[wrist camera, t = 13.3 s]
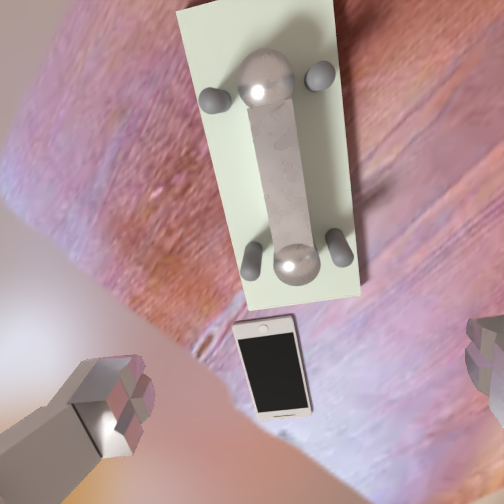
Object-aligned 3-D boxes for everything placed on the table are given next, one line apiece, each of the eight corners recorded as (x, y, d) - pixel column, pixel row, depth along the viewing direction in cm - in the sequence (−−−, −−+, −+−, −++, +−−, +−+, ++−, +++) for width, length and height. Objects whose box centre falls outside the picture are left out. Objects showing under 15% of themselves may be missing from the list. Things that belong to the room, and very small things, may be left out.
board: (327, -24, 27) (341, -60, 21) (358, 288, 37) (373, 323, 31) (180, 16, 29) (154, -7, 23) (249, 303, 39) (244, 339, 33)
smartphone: (292, 312, 40) (292, 317, 39) (311, 410, 46) (312, 416, 45) (232, 321, 41) (231, 326, 40) (258, 416, 47) (258, 422, 46)
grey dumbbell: (287, 49, 28) (289, 41, 24) (318, 263, 35) (323, 282, 31) (236, 62, 28) (230, 56, 25) (277, 269, 35) (277, 289, 32)
